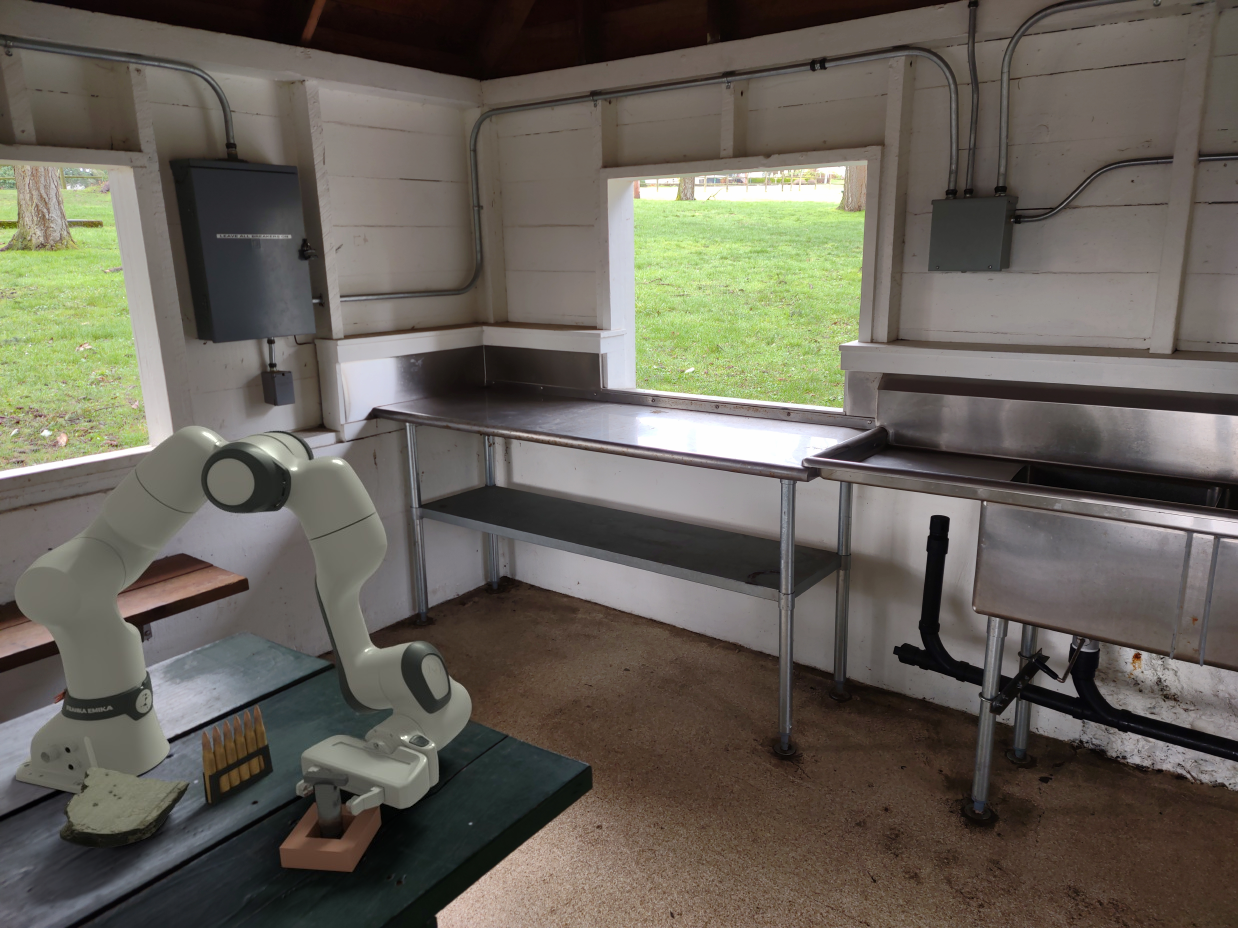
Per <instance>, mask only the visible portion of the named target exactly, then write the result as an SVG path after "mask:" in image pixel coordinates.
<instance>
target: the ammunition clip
mask: <svg viewBox="0 0 1238 928" xmlns="http://www.w3.org/2000/svg"><path fill="white" fill-rule="evenodd" d="M253 709H254V710H253V721H252V717H251V715H250V712H249V711H248V710H247V709H246V710H244V713H243V727H242V724H241V719H240V718H239V716H238V715H237V714H236V715H234V718H233V723H232V724H233V725H232V727H233V734H232V729H231V725H230V723H229V722H228V720H224V722H223V726H222V734H223V741H222V736H221V731H220V729H219V728H218V726H217V725H213V729H212V742H211V739H210V736H209V734H208V732H207V731H206V730H203V732H202V735H201V747H202V756H201V757H202V766H203V772H202V778H203V788H204V789H203V790H204V798H205V799H204V800H205V803H207V804H208V805H210V806H212V807H214V806H216V805H218V804H220V803H221V802H223V801H225V800H226V799H228V798H230V797H232V796H234V795H236V794H237V793H238V792H240V791H242V790H244V789H245V788H247V787H248V786H251V785H252V784H255V783H256V782H257V781H260V780H261V779H263V778H264V777H266V776H268V775H270V774H271V773H273V772H274V766H273V761H272V756H271V751H270V750H271V749H270V746H269V743H267V735H266V729H265V726H264V722H263V717H262V711H261V710H260V707H259V705H257V704H255V705H254V708H253ZM253 725H254V726H253ZM242 728H243V729H242ZM243 730H244V731H243ZM211 743H212V744H211ZM212 745H213V748H212Z"/></svg>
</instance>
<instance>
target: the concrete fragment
mask: <svg viewBox="0 0 1238 928" xmlns="http://www.w3.org/2000/svg"><path fill="white" fill-rule="evenodd" d="M189 786H190V781H185V780H175V781H164V780H161V779H158V778H152V777H151V778H150V777H149V778H148V777H147V778H141V777H138V776H134V775H130V774H122V773H120V772H118V771H114V770H106V769H104V768H98V767H92V768H89V769H87V770H86V772H85V778H84V782H83V784H82V786H81V794H77V793H76V794H74V795H73V796H72V797H71V799H70V800H68V802H67V803H66V805H65V806H64V809H63V811H62V813H63V814H64V816H66V819H67V821H66V823H65V825H63V827H62V828H60V831H59V837H60V838H59V839H61V840H62V841H65V842H66V843H69V844H71V845H75V846H78V847H82V848H88V849H89V848H90V849H108V848H115V847H116V848H117V847H121V846H126V845H128V844H132V843H135V842H139V841H142V840H145V839H146V838H149V837H151V836H152V834H153V833H155V832H156V831H157V830H158V829H159V828H160V827H161V826H162V824H163V823H164V822H165V821H166V819H167V817H168V816H169V815H170V814H171V813H172V811H173V810H174V809H175V807H176V805H177V804H178V803H179V802H181V800H182V798H184V797H185V796H184V795H186V792H187V791H188V789H189Z"/></svg>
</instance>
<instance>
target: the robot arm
mask: <svg viewBox="0 0 1238 928" xmlns="http://www.w3.org/2000/svg"><path fill="white" fill-rule="evenodd" d="M208 501H209V502H210V503H211V504H212V505H213V506H215V508H218V509H220V510H222V511H224V512H227V513H231V514H257V513H268V512H269V513H270V512H272V513H273V512H279V511H280V510H281V509H283V508H286V509H288V510H290V511H291V512H292V513H293V514H294V515H295V516H296V518H297V519H298V521H299V523H300V525H301V527H302V530H303V531H304V534H305V536H306V538H307V540H308V543H309V546H310V548H311V550H312V555H313V557H314V563H315V569H316V571H315V572H316V573H315V575H314V589H315V594H316V599H317V603H318V606H319V610H320V613H321V616H322V619H323V622H324V626H325V630H326V632H327V635H328V636H327V637H328V638H329V642H330V645H331V648H332V651H333V654H334V655H333V656H334V658H335V662H336V667H337V673H338V674H337V675H338V685H339V689H340V694H341V697H343V700H344V702H345V703H346V704H347V705H348V707H350V709H352V710H353V711H355V712H356V713H358V714H362V715H372V714H376V713H378V712H382V711H386V710H388V709H392V713H391V714H392V715H390V716H389V717H387V718H386V719H385V720H384V721H382V722H381V723H379V724H378V725H376V726H374V727H372V729H369V731H367V733H366V734H365V736H364V738H358V737H355V736H352V735H346V734H336V735H333V736H330V737H327V738H326V739H324V740H321V741H320V742H318V743H316V744H313V745H312V746H310V747H308V748H307V749H306V750H304V751H303V752H301V753H302V754H301V757H300V764H301V766H300V767H301V771H302V776H304V775H305V774H306V772H307V771H312V772H326V773H339V774H348V778H349V782H348V783H347V784H346V786H339V788H340V790H343V791H346V792H349V793H352V794H355V795H353V796H352V797H351V799H348V800H347V801H346V802H345V804H346V808H347V809H346V811H347V813H350V814H353V815H358V814H359V813H360V812H361V811H363V810H364V809H369V808H372V807H375V806H380V805H381V804H384V805H388V806H389V807H394V808H397V809H398V810H402V809H407V808H410V807H411V806H413V805H414V804H416V803H417V802H419V800H421V799H422V798H423V797H424V796H425V795H426V794H427V793H428V791H429V790H430V788H432V787H434V786H435V785H437V783H439V777H440V775H439V773H440V772H439V769H440V768H439V757H438V751H440V750H441V749H443V748H444V747H445V746H447V745H448V744H449V743H450V742H451V741H453V739H455V737H456V736H458V735H459V734H460V733H461V732H462V730H463V729H465V727H466V725H467V723H468V721H469V719H470V718H471V714H472V700H471V697H470V694H469V692H468V690H467V689H466V688H465V687H464V686H463V685H462V684H461V683H459V682H457V681H455V680H454V679H453V678H452V677H451V676H450V673H449V671H448V668H447V665H446V662H445V660H444V658H443V656H442V654H441V653H440V651H439V650H438V649H437V648H436V647H435V646H434V645H433V644H431V643H429V642H428V641H424V640H415V641H411V642H405V643H401V644H396V645H393V646H389V647H383V648H379V647H377V646H375V645H374V643H373V642H372V641H371V638H370V634H369V632H368V631H369V630H368V629H367V625H366V621H365V618H364V614H363V611H362V608H361V606H360V599H359V598H360V591H361V588H362V586H363V585H364V583H366V581H367V580H368V579H369V578H371V576H373V575H374V573H375V572H376V571H377V570H378V569H379V568H380V566H381V564H382V563H383V561H384V558H385V557H386V553H387V549H388V540H387V539H388V538H387V535H386V531H385V530H386V529H385V527H384V524H383V522H382V520H381V518H380V515H379V513H378V511H377V509H376V507H375V505H374V502H373V500H372V499H371V496H370V495H369V493H368V491H367V489H366V488H365V486H364V484H363V482H362V481H361V479H360V478H359V476H358V475H357V473H356V472H355V470H354V469H353V467H352V466H351V464H350V463H349V462H347V460H346V459H343V458H342V457H339V456H333V455H325V456H319V457H316V458H315V456H314V453H313V450H312V448H311V446H310V445H309V443H308V442H307V441H306V440H305V439H303V438H302V437H301V436H299V435H298V434H295V433H292V432H290V431H285V430H270V431H269V430H268V431H265V432H261V433H255V434H251V435H248V436H245V437H243V438H241V439H239V440H236V441H233V442H231V441H227V440H226V439H225V438H223V437H222V436H221V435H220V434H218V433H217V432H216V431H214V430H213V429H210V428H207V427H204V426H201V425H188V426H185V427H182V428H180V429H179V430H177V431H176V432H174V433H173V434H172V435H170V436H169V437H167V438H166V439H164V440H163V441H161V442H160V443H159V444H158V445H157V446H156V447H155V448H153V449H152V450H151V451H150V452H149V453H148V454H147V455H146V456H144V457H143V458H142V459H141V461H139V463H137V464H136V466H135V467H133V469H132V470H130V472H129V473H128V474H127V475H126V476H125V478H124V479H122V481H120V483H118V485H117V486H116V487H115V488H114V489H113V490H112V491H111V492H110V493H109V494H108V495H107V496H106V497H105V499H104V500H103V502H102V507H101V509H100V511H99V512H98V514H97V516H96V517H95V518H94V520H93V521H92V522H91V523H90V524H89V525H88V526H87V527H86V528H85V529H84V530H82V531H81V532H80V533H79V534H77V535H75V536H74V537H72V538H71V539H69V540H67V541H66V542H65V543H62V544H61V545H59V546H58V547H56V548H54V549H52V550H50V551H48V552H46V553H45V554H42V555H41V556H40V557H37V559H36V560H35V561H33V563H32V564H31V565H30V566H28V568H27V569H26V570H25V571H24V572H23V573H22V574H21V576H20V577H19V578H18V579H17V581H16V584H15V587H14V598H15V602H16V605H17V607H18V609H19V610H20V611H21V613H22V614H23V616H25V617H26V618H27V619H29V620H30V621H32V622H34V623H35V624H38V625H41V626H44V627H45V628H46V629H47V630H48V632H49V634H50V635H51V637H52V638H53V640H54V642H55V644H56V645H57V648H58V651H59V654H60V658H61V661H62V662H61V663H62V665H63V671H64V675H65V681H66V682H65V683H66V686H67V687H66V688H64V689H63V691H62V692H60V693H59V694H57V695H55V696H54V697H53V698H52V699H53V700H55V701H54V702H53V703H54V704H55V705H56V704H58V703H60V702H62V701H63V703H62V706H61V709H60V710H59V711H58V713H56V714H55V715H54V716H53V717H52V718H50V720H48V721H47V722H46V723H45V724H43V725H42V726H41V728H39V729H38V730H37V731H36V732H35V733H34V735H33V737H32V739H31V741H30V747H29V751H30V755H29V756H28V757H27V758H26V759H25V760H24V761H23V762H22V763H21V764H20V765H19V766H18V768H17V770H16V771H15V780H17V781H19V782H24V783H28V784H32V785H37V786H41V787H45V788H51V789H55V790H60V791H64V792H68V793H73V794H76V795H77V794H81V786H82V784H83V782H84V778H85V772H86V770H87V769H89V768H92V767H98V768H104V769H106V770H114V771H118V772H120V773H122V774H130V775H134V776H136V777H138V776H140V775H142V774H144V773H146V772H148V771H149V770H152V769H153V768H154V767H156V766H158V765H159V764H160V763H161V762H162V761H163V760H164V759H165V758H166V757H167V756H168V754H169V752H170V750H171V745H170V743H169V741H168V739H167V737H166V735H165V733H164V732H163V729H162V726H161V724H160V721H159V719H158V715H157V712H156V710H155V709H156V708H155V706H154V690H153V685H152V678H151V675H150V672H149V671H148V670H147V668H146V661H145V656H144V648H143V642H142V636H141V633H140V630H139V629H138V627H136V626H135V625H133V624H132V623H130V622H126V621H125V619H124V617H123V616H122V613H121V611H120V608H119V607H118V594H120V593H121V592H122V591H124V590H125V589H127V588H128V587H130V586H131V585H132V584H134V583H135V582H136V581H137V580H138V579H139V578H140V577H141V576H142V574H143V573H144V572H145V571H146V570H147V569H148V568H149V566H150V565H151V564H152V563H153V562H154V560H156V558H157V557H158V555H159V554H160V553H161V551H162V550H163V548H164V547H165V546H166V545H167V544H168V543H169V541H170V540H171V539H173V537H174V536H175V535H176V534H177V533H179V531H180V530H181V529H182V528H183V527H184V526H185V525H186V524H187V523H188V522H189V521H190V520H191V519H192V518H193V517H194V516H195V515H196V513H197V512H199V510H201V508H202V507H204V505H205V504H206V503H208ZM313 786H314V784H307V783H304V778H302V780H301V781H298V782H297V783H296V785H295V792H296V793H295V794H296V795H297V796H300V797H303V798H307V797H308V796H309V795H311V794H313V793H315V789H314V787H313Z"/></svg>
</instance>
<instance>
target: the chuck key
mask: <svg viewBox="0 0 1238 928" xmlns="http://www.w3.org/2000/svg"><path fill="white" fill-rule="evenodd" d="M302 777H303V778H302V779H304V783H307V784H313V786H314V787H313V788H314V794H315V802H316V805H317V814H318V823H319V831H320V838H323V839H339V840H341V839H342V837H343V836H344V834H345V833H344V826H343V816H342V807H341V804H342V800H341V799H342V798H341V791H340V790H341V789H340V788H339V786H346V784H347V783H348V782H349V778H348V774H339V773H326V772H312V771H307V772H306V774H305V775H302Z"/></svg>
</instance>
